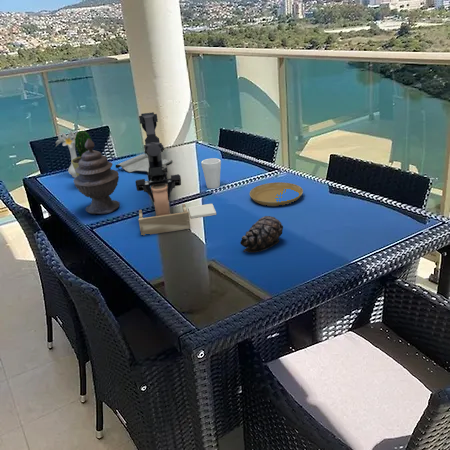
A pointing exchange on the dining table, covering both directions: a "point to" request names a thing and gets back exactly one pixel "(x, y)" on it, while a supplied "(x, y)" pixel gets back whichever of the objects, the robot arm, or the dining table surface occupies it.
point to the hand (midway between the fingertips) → (161, 201)
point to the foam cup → (212, 172)
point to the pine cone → (262, 234)
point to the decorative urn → (96, 180)
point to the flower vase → (70, 142)
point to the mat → (139, 164)
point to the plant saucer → (273, 193)
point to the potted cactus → (80, 146)
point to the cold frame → (164, 222)
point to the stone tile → (201, 210)
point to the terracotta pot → (161, 199)
